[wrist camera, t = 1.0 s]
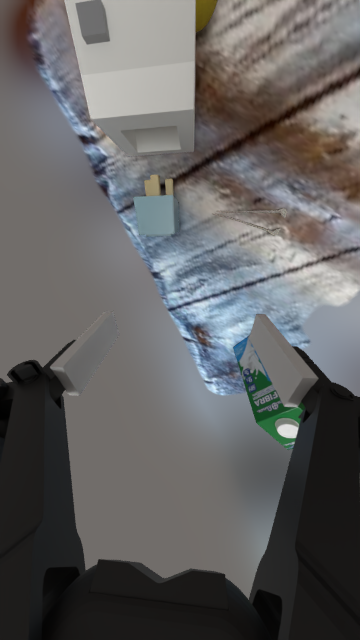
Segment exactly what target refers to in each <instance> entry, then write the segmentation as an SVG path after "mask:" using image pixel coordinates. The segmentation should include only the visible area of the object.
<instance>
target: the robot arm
mask: <svg viewBox="0 0 360 640" xmlns="http://www.w3.org/2000/svg"><path fill="white" fill-rule="evenodd" d="M118 336H119V331H118V328H117V324H116V320H115V317H114V313H113V311H105V312H104V313H103V314H102V315H101V316H100V317H99V318H98V319H97V320H96V321H95V322H94V323H93V324H92V325H91V326H90V327H89V328H88V329H87V330H86V331H85V332H84V333H83V334H82V335H81V336H80V337H79V338H78V339H77V340H73V341H72V342H70V343H68V344H67V345H66V346H65V347H64V348H63V349H62V350H61V351H60V352H59V353H58V354H56V355H55V356H54V357H53V358H52V359H51V360H50V361H49V362H48V363H47V364H46V365H45V366H44V367H43V368H42V367H41V366H40V364H39V363H38V361H36V360H29V361H26V362H23V363H20V364H18V365H17V366H15V367H13V368H12V369H11V370H10V371H9V372H8V374H7V375H8V377H9V378H10V379H11V380H12V381H13V382H9V383H5V382H4V381H3V379H1V378H0V640H360V397H357V396H354V394H352V392H350V391H349V390H348V389H347V388H345V387H343V386H341V385H339V384H336V383H332V382H331V381H330V380H329V379H328V378H327V377H326V375H325V374H324V373H323V372H322V371H321V370H320V369H319V368H318V366H317V365H316V364H314V362H313V361H312V360H311V359H310V358H309V356H308V355H307V354H306V353H305V352H304V351H302V350H301V349H300V348H298V347H295V346H291V345H290V344H289V342H288V341H287V340H286V339H285V338H284V336H283V335H282V334H281V333H280V332H279V330H278V329H277V328H276V327H275V325H274V324H273V323H272V322H271V321H270V319H269V318H268V317H267V316H266V315H265V314H256V317H255V321H254V324H253V327H252V331H251V334H250V338H249V339H250V341H251V343H252V345H253V347H254V349H255V351H256V353H257V355H258V356H259V358H260V360H261V362H262V364H263V366H264V368H265V370H266V372H267V374H268V376H269V378H270V380H271V382H272V384H273V386H274V388H275V390H276V391H277V393H278V395H279V397H280V399H281V401H282V403H283V405H284V407H298V406H299V404H300V403H301V402H302V403H303V405H304V406H305V409H304V410H303V411H302V413H301V414H300V415H299V417H298V418H299V419H300V418H301V420H300V424H299V428H298V432H297V436H296V439H295V443H294V447H293V451H292V455H291V458H290V462H289V466H288V470H287V474H286V478H285V481H284V485H283V489H282V493H281V497H280V500H279V504H278V508H277V512H276V516H275V519H274V523H273V527H272V531H271V535H270V538H269V542H268V546H267V549H266V551H265V554H264V555H263V557H262V559H261V561H260V563H259V566H258V569H257V572H256V575H255V579H254V582H253V586H252V590H251V593H250V597H249V600H248V598H247V597H246V596H245V595H244V594H243V593H242V592H241V590H240V589H239V588H238V587H237V586H235V585H234V584H233V583H232V582H231V581H229V580H228V579H226V578H225V574H222V573H218V572H214V571H207V570H198V569H189V570H186V571H184V572H181V573H179V574H176V575H174V576H171V577H168V578H162V577H161V576H159V575H158V574H156V573H155V572H153V571H152V570H150V569H149V568H148V567H146V566H145V565H143V564H142V563H138V562H130V561H121V560H101V559H99V560H98V564H97V565H95V566H93V567H91V568H90V569H88V570H85V561H84V553H83V547H82V543H81V540H80V537H79V535H78V533H77V529H76V523H75V513H74V502H73V493H72V481H71V471H70V461H69V450H68V441H67V429H66V419H65V409H64V399H63V396H62V393H63V392H64V391H65V390H66V391H67V393H68V394H69V395H78V396H80V394H81V393H82V392H83V390H84V389H85V387H86V385H87V384H88V382H89V381H90V379H91V378H92V376H93V375H94V373H95V372H96V370H97V369H98V367H99V365H100V364H101V362H102V361H103V359H104V358H105V356H106V355H107V353H108V352H109V350H110V348H111V347H112V345H113V344H114V342H115V341H116V339H117V338H118Z"/></svg>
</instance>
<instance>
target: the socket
mask: <svg viewBox="0 0 360 640" xmlns="http://www.w3.org/2000/svg"><path fill="white" fill-rule="evenodd" d="M65 5H66V9H67V14H68V18H69V23H70V27H71V32H72V36H73V41H74V45H75V50H76V54H77V59H78V63H79V68H80V72H81V77H82V81H83V86H84V90H85V95H86V99H87V104H88V108H89V113H90V117H91V120H92V121H93V122H94V123H95V124H96V125H97V126H98V127H99V128H100V129H101V130H102V131H103V132H104V133H105V134H106V135H107V136H108V137H109V138H110V139H111V140H112V141H113V142H114V143H115V144H116V145H117V146H118V147H119V148H120V149H121V150H122V151H123V152H124V153H125V154H126V155H127V156H128V157H132V156H145V155H159V154H172V153H186V152H194V136H195V54H196V0H65Z"/></svg>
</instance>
